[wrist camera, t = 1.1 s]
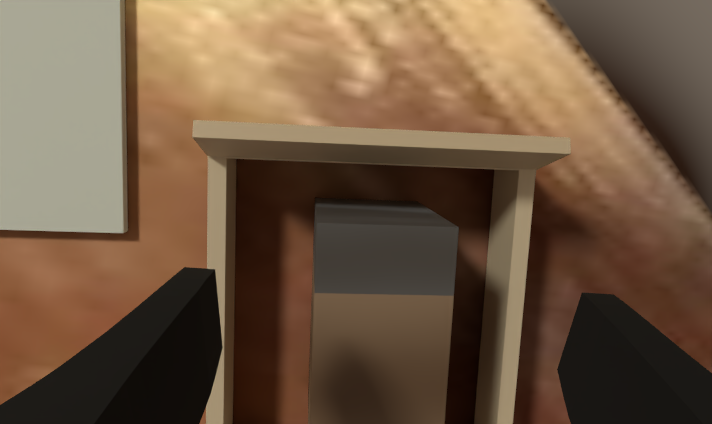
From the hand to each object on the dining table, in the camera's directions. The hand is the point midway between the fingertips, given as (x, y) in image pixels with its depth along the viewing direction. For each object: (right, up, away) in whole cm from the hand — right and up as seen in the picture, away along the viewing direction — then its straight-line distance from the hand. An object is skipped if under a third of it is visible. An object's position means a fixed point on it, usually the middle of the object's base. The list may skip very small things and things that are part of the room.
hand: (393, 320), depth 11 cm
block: (-1, -1, +11) cm, 11 cm away
